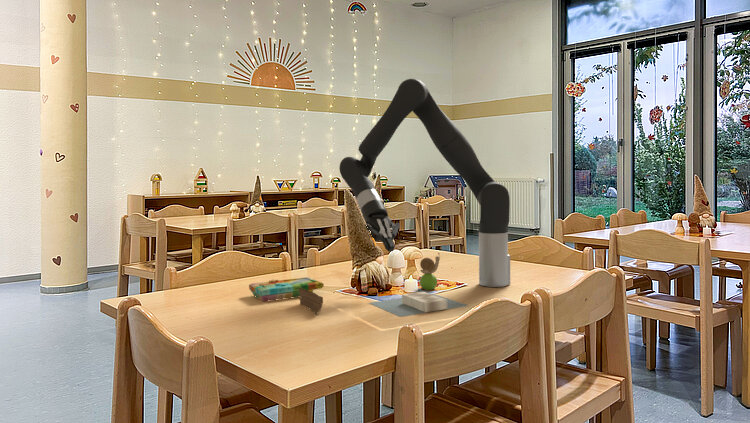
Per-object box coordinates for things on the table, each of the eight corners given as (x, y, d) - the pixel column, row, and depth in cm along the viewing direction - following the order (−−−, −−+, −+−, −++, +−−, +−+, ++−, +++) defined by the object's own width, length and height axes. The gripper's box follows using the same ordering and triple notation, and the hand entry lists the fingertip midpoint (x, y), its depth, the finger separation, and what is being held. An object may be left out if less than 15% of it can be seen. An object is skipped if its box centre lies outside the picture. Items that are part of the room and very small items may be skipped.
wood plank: (295, 305, 167) (294, 287, 166) (302, 304, 168) (301, 287, 167) (317, 316, 153) (316, 298, 153) (324, 315, 154) (323, 296, 154)
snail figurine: (439, 292, 178) (439, 254, 177) (418, 292, 180) (418, 253, 179) (441, 288, 184) (440, 251, 183) (421, 288, 185) (420, 251, 184)
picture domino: (422, 291, 166) (447, 299, 155) (423, 300, 166) (447, 309, 155) (401, 294, 162) (425, 303, 152) (402, 303, 163) (425, 313, 152)
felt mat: (432, 295, 175) (432, 293, 175) (469, 307, 159) (468, 305, 159) (368, 304, 165) (368, 302, 165) (400, 318, 149) (400, 316, 149)
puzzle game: (248, 281, 179) (308, 274, 189) (249, 296, 180) (308, 288, 190) (261, 288, 169) (323, 280, 179) (261, 304, 170) (323, 295, 179)
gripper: (357, 199, 178) (377, 243, 168) (393, 198, 185) (415, 240, 175) (349, 215, 183) (368, 259, 173) (384, 213, 190) (405, 255, 180)
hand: (391, 249), depth 174 cm, fingers closed
